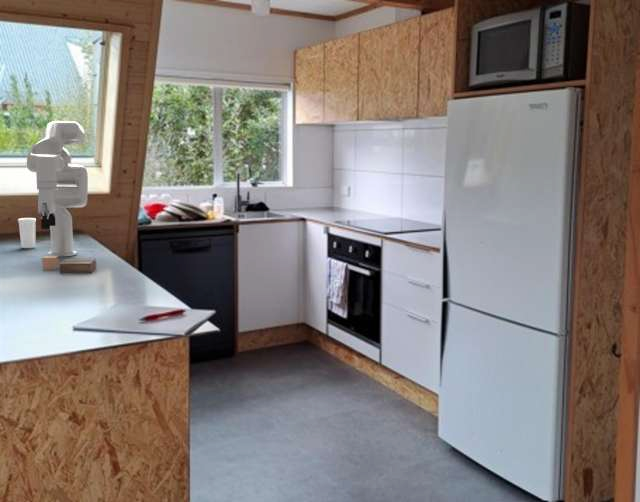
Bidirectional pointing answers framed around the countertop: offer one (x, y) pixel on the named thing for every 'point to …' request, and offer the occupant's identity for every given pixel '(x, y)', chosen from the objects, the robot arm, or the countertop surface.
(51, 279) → the countertop surface
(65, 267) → the walnut base
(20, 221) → the cup
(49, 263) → the terracotta cube
